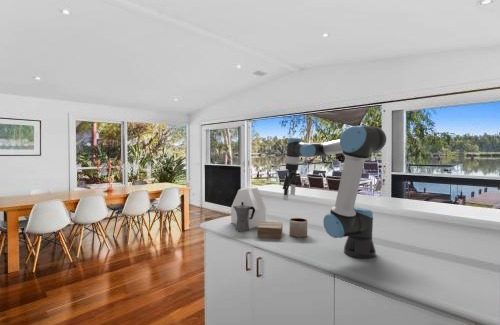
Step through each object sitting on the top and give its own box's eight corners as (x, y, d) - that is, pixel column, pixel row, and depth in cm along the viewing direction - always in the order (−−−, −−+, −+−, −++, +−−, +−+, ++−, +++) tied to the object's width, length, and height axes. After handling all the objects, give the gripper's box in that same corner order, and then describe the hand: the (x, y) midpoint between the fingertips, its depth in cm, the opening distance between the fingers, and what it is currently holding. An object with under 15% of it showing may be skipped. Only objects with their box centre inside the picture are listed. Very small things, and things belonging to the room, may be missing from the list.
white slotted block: (265, 224, 207) (265, 189, 205) (248, 228, 197) (248, 191, 195) (247, 219, 221) (247, 186, 220) (231, 222, 211) (231, 187, 210)
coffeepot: (230, 230, 192) (230, 202, 191) (236, 226, 201) (236, 200, 200) (252, 232, 187) (252, 204, 186) (257, 228, 195) (257, 201, 194)
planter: (306, 232, 187) (306, 217, 187) (308, 238, 176) (308, 222, 176) (289, 232, 188) (289, 217, 188) (289, 237, 177) (289, 221, 177)
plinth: (281, 238, 175) (281, 228, 175) (257, 237, 177) (257, 227, 177) (282, 231, 189) (282, 222, 188) (260, 230, 191) (260, 221, 191)
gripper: (292, 160, 191) (289, 191, 194) (279, 165, 168) (276, 201, 172) (303, 161, 187) (300, 194, 191) (291, 166, 165) (288, 203, 169)
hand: (289, 197), depth 181 cm, fingers open, 13 cm apart
